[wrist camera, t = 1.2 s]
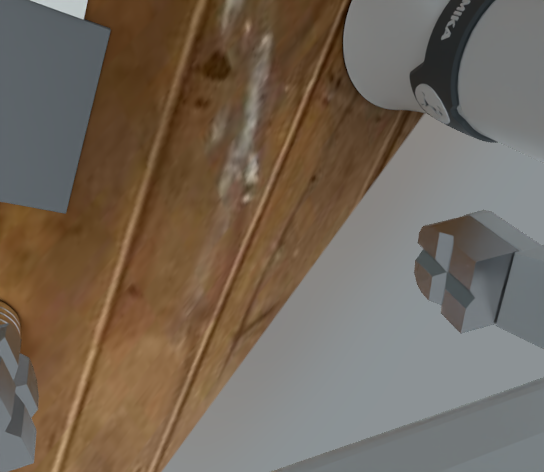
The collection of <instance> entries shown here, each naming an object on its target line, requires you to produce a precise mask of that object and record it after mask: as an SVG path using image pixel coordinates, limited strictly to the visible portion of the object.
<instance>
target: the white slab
mask: <svg viewBox="0 0 544 472" xmlns="http://www.w3.org/2000/svg"><path fill="white" fill-rule="evenodd" d="M30 1H33V2H36V3H38V4H41V5H44V6H47V7H50V8H52V9H55V10H58V11H61V12H63V13H66V14H69V15H72V16H75V17H77V18H80V19H83V20H84V16H85V11H86V7H87V2H88V0H30Z"/></svg>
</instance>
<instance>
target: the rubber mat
mask: <svg viewBox="0 0 544 472" xmlns="http://www.w3.org/2000/svg"><path fill="white" fill-rule="evenodd" d="M110 31H111V30H110V28H108V27H105V26H102V25H100V24H97V23H94V22H91V21H88V20H86V19H84V20H83V19H80V18H77V17H75V16H72V15H69V14H66V13H63V12H61V11H58V10H55V9H52V8H50V7H47V6H44V5H41V4H38V3H36V2H33V1H30V0H0V202H6V203H11V204H17V205H22V206H28V207H33V208H38V209H44V210H49V211H55V212H60V213H66V211H67V207H68V202H69V198H70V194H71V190H72V186H73V182H74V178H75V174H76V170H77V166H78V162H79V158H80V153H81V149H82V145H83V141H84V137H85V133H86V129H87V125H88V121H89V117H90V113H91V108H92V104H93V100H94V96H95V92H96V88H97V84H98V80H99V76H100V72H101V68H102V63H103V59H104V55H105V51H106V47H107V43H108V39H109V35H110Z"/></svg>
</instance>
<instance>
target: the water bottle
mask: <svg viewBox="0 0 544 472" xmlns="http://www.w3.org/2000/svg"><path fill="white" fill-rule="evenodd" d="M7 323H11V324H13V325H14V326H15V328H16V330H17V332H18V334H19V336H20V338H21V324H20V320H19V317H18V315H17V314H16V312H15V311H14V310H13V309H12V308H11V307H10V306H8V305H7V304H5V303H3V302H1V301H0V325H2V324H7Z"/></svg>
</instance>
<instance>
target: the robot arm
mask: <svg viewBox="0 0 544 472" xmlns="http://www.w3.org/2000/svg"><path fill="white" fill-rule="evenodd" d="M343 51H344V59H345V64H346V68H347V71H348V74H349V76H350V79H351V81H352V83H353V84H354V86H355V87H356V89H357V90H358V92H359V93H360V94H361V95H362V96H363V97H364V98H365V99H367V100H368V101H369V102H371V103H373V104H374V105H376V106H379V107H382V108H385V109H391V110H410V111H418V112H423V113H427V114H429V115H431V116H432V117H434V118H435V119H437V120H438V121H440V122H442V123H444V124H446V125H448V126H450V127H452V128H454V129H456V130H458V131H460V132H462V133H465V134H467V135H470V136H472V137H474V138H477V139H479V140H482V141H486V142H499V143H501V144H503V145H506V146H508V147H510V148H512V149H514V150H516V151H519V152H521V153H523V154H525V155H527V156H529V157H531V158H533V159H536V160H538V161H540V162H542V163H544V0H352V2H351V4H350V7H349V10H348V14H347V17H346V22H345V27H344V36H343ZM418 244H419V245H420V247H421V248H422V249H423V250H422V252H421V253H420V254H419V256H418V257H417V259H416V260H415V272H414V273H415V277H416V281H417V285H418V287H419V288H420V290H421V292H422V293H423V295H424V296H425V297H426V298H427V299H428V300H429V301H432V302H435V303H437V304H440V305H441V314H442V315H443V316H444V317H445V318H446V319H447V320H448V321H449V322H450V323H451V324H452V325H453V326H454V327H455V328H456V329H457V330H458V331H459V332H460V333H464V332H468V331H472V330H475V329H479V328H483V327H486V326H490V325H494V324H496V326H497V327H499V328H502V329H503V330H505V331H508V332H510V333H512V334H514V335H516V336H518V337H520V338H522V339H524V340H526V341H528V342H530V343H532V344H534V345H537V346H538V347H541V348H543V349H544V245H541V244H539V243H537V242H536V241H534V240H533V239H532V238H530V237H528V236H527V235H526V234H524V233H523V232H521V231H519V230H518V229H517V228H515V227H514V226H512V225H511V224H509V223H508V222H506V221H505V220H503V219H502V218H500V217H499V216H497V215H496V214H494V213H493V212H491V211H486V210H482V211H478V212H475V213H471V214H467V215H464V216H462V217H459V218H454V219H450V220H446V221H442V222H438V223H434V224H429V225H425V226H423V227H422V229H421V231H420V232H419V239H418ZM20 347H21V338H20V336H19V334H18V332H17V330H16V328H15V326H14V325H13V324H11V323H7V324H2V325H0V472H8V471H11V470H14V469H17V468H20V467H23V466H26V465H29V464H32V463H34V454H35V442H36V428H35V426H34V424H33V422H32V419H31V417H32V416H33V415H34V414H35V412H36V411H37V410H38V398H39V395H38V386H37V379H36V376H35V372H34V368H33V366H32V363H31V361H30V359H29V358H28V357H26V356H24V355H22V354H20ZM272 472H544V378H540V379H537V380H535V381H532V382H529V383H526V384H523V385H520V386H517V387H514V388H512V389H509V390H506V391H503V392H500V393H497V394H494V395H491V396H489V397H486V398H483V399H480V400H477V401H474V402H471V403H468V404H465V405H462V406H459V407H457V408H454V409H451V410H448V411H445V412H442V413H440V414H436V415H433V416H431V417H428V418H425V419H422V420H419V421H416V422H413V423H410V424H407V425H404V426H402V427H399V428H396V429H393V430H390V431H388V432H384V433H381V434H378V435H376V436H373V437H370V438H367V439H364V440H361V441H358V442H355V443H353V444H349V445H347V446H344V447H341V448H338V449H335V450H332V451H329V452H326V453H323V454H321V455H318V456H315V457H312V458H309V459H306V460H303V461H300V462H297V463H295V464H292V465H289V466H286V467H283V468H280V469H277V470H274V471H272Z"/></svg>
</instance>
